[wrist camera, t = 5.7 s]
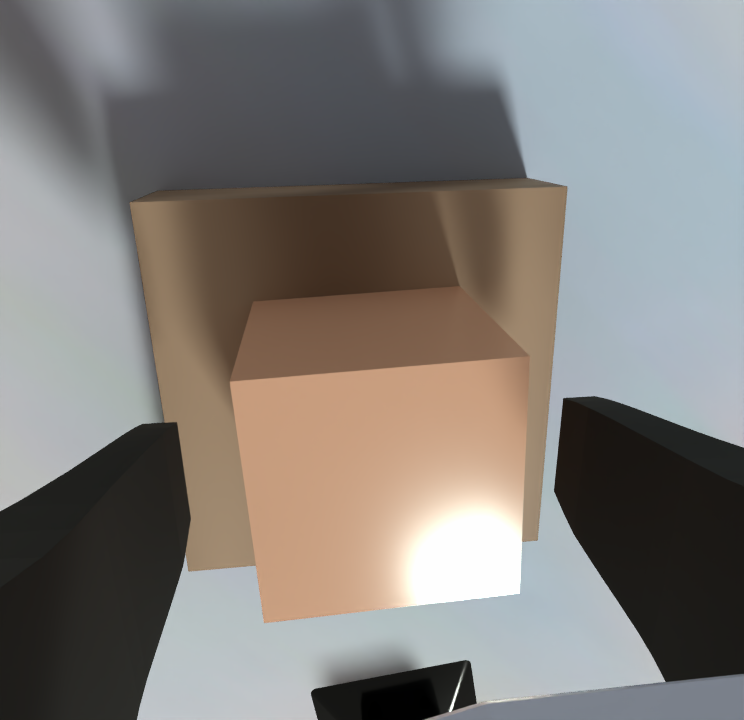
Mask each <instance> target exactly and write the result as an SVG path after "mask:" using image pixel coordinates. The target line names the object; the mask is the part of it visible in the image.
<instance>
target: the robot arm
mask: <svg viewBox="0 0 744 720" xmlns="http://www.w3.org/2000/svg"><path fill="white" fill-rule="evenodd" d="M554 492H555V494H556V497H557V499H558V501H559V504H560V506H561V508H562V510H563V513H564V515H565V517H566V519H567V521H568V523H569V525H570V527H571V529H572V531H573V534H574V535H575V537H576V538H577V540H578V542H579V543H580V545H581V546H582V548H583V549H584V551H585V552H586V554H587V556H588V557H589V559H590V560H591V562H592V563H593V565H594V566H595V568H596V569H597V571H598V572H599V574H600V575H601V577H602V578H603V580H604V581H605V583H606V584H607V586H608V587H609V589H610V590H611V592H612V593H613V595H614V596H615V598H616V599H617V601H618V602H619V604H620V605H621V607H622V608H623V610H624V611H625V613H626V614H627V616H628V617H629V619H630V620H631V622H632V624H633V625H634V627H635V628H636V630H637V631H638V633H639V634H640V636H641V638H642V639H643V641H644V643H645V644H646V646H647V648H648V649H649V651H650V653H651V654H652V656H653V658H654V660H655V662H656V664H657V666H658V668H659V670H660V672H661V674H662V676H663V677H664V679H665V681H666V682H662V683H653V684H644V685H634V686H625V687H616V688H606V689H597V690H588V691H578V692H569V693H560V694H550V695H541V696H532V697H522V698H513V699H504V700H494V701H485V702H480V703H477V704H474V705H470V706H467V707H464V708H461V709H457V710H454V711H451V712H447V713H444V714H441V715H438V716H434V717H431V718H428V719H425V720H744V448H743V447H740V446H737V445H734V444H731V443H728V442H725V441H722V440H719V439H716V438H713V437H710V436H708V435H705V434H702V433H699V432H696V431H694V430H691V429H688V428H686V427H683V426H680V425H678V424H675V423H672V422H670V421H667V420H664V419H662V418H659V417H657V416H654V415H651V414H649V413H646V412H643V411H641V410H638V409H635V408H632V407H630V406H627V405H624V404H621V403H618V402H615V401H612V400H608V399H604V398H600V397H595V396H592V397H576V398H563V407H562V417H561V427H560V437H559V447H558V457H557V467H556V477H555V487H554ZM190 522H191V515H190V508H189V501H188V494H187V487H186V481H185V474H184V467H183V460H182V453H181V446H180V439H179V432H178V425H177V422H168V423H152V424H142V425H139V426H137V427H135V428H134V429H132V430H130V431H129V432H127V433H125V434H124V435H122V436H121V437H119V438H118V439H116V440H115V441H113V442H112V443H110V444H109V445H107V446H106V447H104V448H103V449H101V450H100V451H98V452H97V453H95V454H94V455H92V456H91V457H89V458H88V459H86V460H85V461H83V462H82V463H80V464H79V465H77V466H76V467H74V468H73V469H71V470H70V471H68V472H66V473H65V474H63V475H62V476H60V477H58V478H57V479H55V480H53V481H52V482H50V483H48V484H47V485H45V486H43V487H42V488H40V489H38V490H37V491H35V492H34V493H32V494H30V495H29V496H27V497H25V498H24V499H22V500H20V501H18V502H17V503H15V504H13V505H11V506H9V507H8V508H6V509H4V510H2V511H0V720H137V716H138V711H139V707H140V703H141V699H142V696H143V692H144V688H145V685H146V681H147V677H148V674H149V671H150V668H151V665H152V662H153V659H154V656H155V653H156V650H157V646H158V643H159V640H160V637H161V634H162V631H163V628H164V625H165V622H166V619H167V616H168V612H169V609H170V606H171V603H172V600H173V597H174V594H175V590H176V587H177V584H178V581H179V578H180V574H181V571H182V568H183V563H184V558H185V552H186V547H187V541H188V534H189V528H190Z"/></svg>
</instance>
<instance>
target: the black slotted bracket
mask: <svg viewBox="0 0 744 720" xmlns="http://www.w3.org/2000/svg"><path fill="white" fill-rule="evenodd" d="M311 696H312V700H313V703H314V707H315V711H316V715H317V719H318V720H425V719H428V718H431V717H434V716H438V715H441V714H444V713H447V712H451V711H454V710H457V709H461V708H464V707H467V706H470V705H474V704H477V702H476V696H475V689H474V682H473V675H472V669H471V663H470V662H469V661H467V660H464V661H459V662H454V663H448V664H443V665H438V666H433V667H427V668H422V669H417V670H412V671H406V672H401V673H396V674H391V675H385V676H380V677H375V678H370V679H364V680H359V681H354V682H349V683H343V684H338V685H333V686H328V687H322V688H317V689H314V690H312V692H311Z"/></svg>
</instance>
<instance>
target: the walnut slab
mask: <svg viewBox="0 0 744 720" xmlns="http://www.w3.org/2000/svg"><path fill="white" fill-rule="evenodd" d="M566 198H567V186H562V185H558V184H553V183H548V182H544V181H539V180H534V179H530V178H510V179H481V180H453V181H424V182H395V183H366V184H337V185H309V186H280V187H251V188H222V189H193V190H165V191H156V192H153V193H151V194H148V195H146V196H144V197H141V198H139V199H137V200H134V201H132V202H129V203H130V209H131V215H132V221H133V228H134V234H135V240H136V246H137V253H138V259H139V265H140V271H141V278H142V284H143V290H144V296H145V303H146V309H147V315H148V321H149V328H150V334H151V340H152V346H153V353H154V359H155V365H156V371H157V378H158V384H159V390H160V396H161V402H162V409H163V415H164V421H165V423H168V422H177V425H178V432H179V439H180V446H181V453H182V460H183V467H184V474H185V481H186V487H187V494H188V501H189V508H190V515H191V522H190V528H189V534H188V541H187V547H186V559H187V565H188V571H200V570H211V569H222V568H233V567H245V566H256V562H255V555H254V548H253V541H252V534H251V527H250V520H249V513H248V506H247V499H246V492H245V486H244V479H243V472H242V465H241V458H240V451H239V444H238V437H237V430H236V423H235V416H234V409H233V402H232V395H231V388H230V379H231V375H232V372H233V369H234V365H235V362H236V358H237V355H238V351H239V348H240V345H241V341H242V338H243V334H244V331H245V328H246V324H247V321H248V317H249V314H250V311H251V307H252V304H253V302H254V301H267V300H281V299H294V298H307V297H321V296H334V295H347V294H361V293H374V292H387V291H401V290H414V289H427V288H441V287H454V286H460V287H461V288H462V289H463V290H464V291H465V292H466V293H467V294H468V295H469V296H470V297H471V298H472V299H473V300H474V301H475V302H476V303H477V304H478V305H479V306H480V307H481V308H482V309H483V310H484V311H485V312H486V313H487V314H488V315H489V316H490V317H491V318H492V319H493V320H494V321H495V322H496V323H497V324H498V325H499V326H500V327H501V328H502V329H503V330H504V331H505V332H506V333H507V334H508V335H509V336H510V337H511V338H512V339H513V340H514V341H515V342H516V343H517V344H518V345H519V346H520V347H521V348H522V349H523V350H524V351H525V352H526V353H527V354H528V355H529V356H530V365H529V388H528V411H527V433H526V456H525V479H524V501H523V524H522V542H526V541H537V540H538V530H539V518H540V506H541V494H542V483H543V471H544V459H545V447H546V435H547V423H548V411H549V400H550V388H551V376H552V364H553V352H554V340H555V329H556V317H557V305H558V293H559V281H560V269H561V258H562V246H563V234H564V222H565V210H566Z"/></svg>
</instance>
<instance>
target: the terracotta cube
mask: <svg viewBox="0 0 744 720" xmlns="http://www.w3.org/2000/svg"><path fill="white" fill-rule="evenodd" d="M529 365H530V356H529V355H528V354H527V353H526V352H525V351H524V350H523V349H522V348H521V347H520V346H519V345H518V344H517V343H516V342H515V341H514V340H513V339H512V338H511V337H510V336H509V335H508V334H507V333H506V332H505V331H504V330H503V329H502V328H501V327H500V326H499V325H498V324H497V323H496V322H495V321H494V320H493V319H492V318H491V317H490V316H489V315H488V314H487V313H486V312H485V311H484V310H483V309H482V308H481V307H480V306H479V305H478V304H477V303H476V302H475V301H474V300H473V299H472V298H471V297H470V296H469V295H468V294H467V293H466V292H465V291H464V290H463V289H462V288H461V287H460V286H454V287H441V288H427V289H414V290H401V291H387V292H374V293H361V294H347V295H334V296H321V297H307V298H294V299H281V300H267V301H254V302H253V304H252V307H251V311H250V314H249V317H248V321H247V324H246V328H245V331H244V334H243V338H242V341H241V345H240V348H239V351H238V355H237V358H236V362H235V365H234V369H233V372H232V375H231V379H230V388H231V395H232V402H233V409H234V416H235V423H236V430H237V437H238V444H239V451H240V458H241V465H242V472H243V479H244V486H245V492H246V499H247V506H248V513H249V520H250V527H251V534H252V541H253V548H254V555H255V562H256V569H257V576H258V583H259V590H260V597H261V604H262V611H263V618H264V623H269V622H278V621H286V620H295V619H303V618H312V617H320V616H329V615H338V614H346V613H355V612H363V611H372V610H381V609H389V608H398V607H406V606H415V605H423V604H432V603H441V602H449V601H458V600H466V599H475V598H483V597H492V596H501V595H509V594H518V593H519V592H520V569H521V547H522V524H523V501H524V479H525V456H526V433H527V411H528V388H529Z"/></svg>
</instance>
